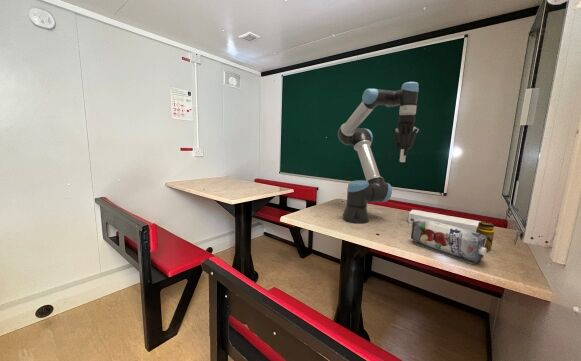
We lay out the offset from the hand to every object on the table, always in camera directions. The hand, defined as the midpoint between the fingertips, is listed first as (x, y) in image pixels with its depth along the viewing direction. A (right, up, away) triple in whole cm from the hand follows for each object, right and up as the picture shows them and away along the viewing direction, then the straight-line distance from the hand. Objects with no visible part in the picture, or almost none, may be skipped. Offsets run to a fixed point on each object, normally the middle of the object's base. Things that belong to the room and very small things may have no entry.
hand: (402, 161), depth 120 cm
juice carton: (+1, -32, -10) cm, 34 cm away
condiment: (+27, -40, -16) cm, 51 cm away
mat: (+10, -40, -19) cm, 46 cm away
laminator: (+28, -37, +12) cm, 48 cm away
